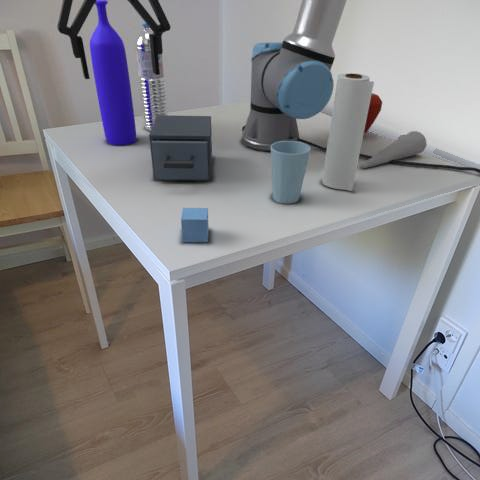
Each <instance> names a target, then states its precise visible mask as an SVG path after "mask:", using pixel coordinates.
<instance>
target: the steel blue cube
mask: <svg viewBox="0 0 480 480" xmlns="http://www.w3.org/2000/svg"><path fill="white" fill-rule="evenodd" d="M180 225H181V237H182V243H209V207H182V209H181V217H180Z"/></svg>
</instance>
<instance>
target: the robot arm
mask: <svg viewBox="0 0 480 480" xmlns="http://www.w3.org/2000/svg"><path fill="white" fill-rule="evenodd" d="M347 1H348V0H301V3H300V6H299V10H298V14H297V19H296V21H295V24H294V28H293V31H292V32H291V33H290V34H288V35H287V36H285V37H284V38H283V40H282V41H278V42H257V43H255V44H254V45H253V47H252V54H251V55H252V56H251V58H250V59H251V60H250V61H251V72H250V73H251V75H250V76H251V77H250V107H249V108H250V109H249V113H248V116H247V119H246V122H245V125H244V126H242V127H241V132H242V144H243V145H245V146H246V147H248V148H250V149H252V150H257V151H261V152H271V145H272V144H273V143H275V142H279V141H297V142H301V143H304V144H307V145H308V146H311V147H313V148H316V149H318V150H322V151H325V152H326V151H327V147H325V146H321V145H319V144H316V143H314V142H311V141H308V140H307V139H302V138H300V131H299V126H298V122H297V120H307V119H310V118H313V117H314V116H316V115H318V114H319V113H320V112H322V111H323V110H324V109H325V108H326V106H327V105H328V104H329V102H330V100H331V98H332V95H333V91H334V87H335V86H334V85H335V84H334V82H335V81H334V78H333V74H332V71H331V70H332V67H333V65H334V62H335V59H336V54H335V51H334V49H333V42H334V39H335V36H336V34H337V30H338V27H339V24H340V21H341V20H342V19H341V18H342V15H343V12H344V10H345V6H346V4H347ZM73 2H74V0H62V4H61V8H60V12H59V17H58V22H57V25H56V26H57V30H58V32H59V33H60V34H62V35H65V36H68V37H69V40H70V44H71V49H72V54H73V56H74V58H75V59H80V64H81V69H82V75H83V77H84V80H90V79H91V78H90V74H89V68H88V63H87V57H86V52H85V46H84V42H83V41H84V40H83V37H82V36H81V35H79V33H80V31H81V30H82V28H83V26H84V24H85V22H86V20H87V18H88V16H89V15H90V13H91V10H92V9H93V8H94V5H95V4H94V3H95V2H96V0H83V2H82V4H81V6H80V7H79V10H78V12H77V14H76V16H75V17H74V19H73V21H72V22H71V24H70V26H68V23H69V19H70V15H71V10H72V5H73ZM127 2H128V3H129V4H130V5H131V6H132V8H133V9H134V10H135V11H136V13H137V15H139V16H140V18H141V19H142V20H143V22H144V23H146V24H147V25H148V26H149V27H150V30H151V31H152V32H153V34H149V38H150V49H151V59H152V69H153V73H154V74H156V75H160V71H159V60H158V54H162V55H163V52H164V49H163V39H162V37H163V34H164V33H165V32H168V31H170V30H171V24H170V22H169V20H168V17H167V16H166V13H165V11H164V10H163V7H162V5H161V3H160V1H159V0H148V2H149V4H150V7H151V9H152V10H153V13H154V15H155V17H156V19H157V22H158V23H159V24H158V23H157V22H156V21H155V19H154V18H153V17H152V16H151V15H150V13H149V12H148V11H147V9H146V8H145V7H144V5H143V4H142V3H141V2H140V1H139V0H127ZM373 156H374V155H368V154H364V153H360V154H359V158H364V159H367V160H368V159H370V158H371V157H373ZM388 163H389V164H397V165H405V166H406V165H407V166H413V167H414V166H415V167H424V168H438V169H449V170H456V171H473V172H476V173H478V174H480V168H477V167H474V166H473V167H470V166H458V165H457V166H456V165H450V164H438V163H437V164H436V163H434V164H433V163H426V162H415V161H405V160H399V159H398V160H391V161H390V162H388Z"/></svg>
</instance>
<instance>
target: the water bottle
mask: <svg viewBox="0 0 480 480" xmlns="http://www.w3.org/2000/svg"><path fill="white" fill-rule="evenodd" d="M141 25H142V29H143V30H142V31H140V32H139V33H138V35H137V37H136V38H135V40H134V50H135V56H136V64H137V73H138V86H139V94H140V103H141V110H142V111H141V112H142V120H143V127H144V129H145V130H146V131H149V132H151V129H152V127H153V124H154V122H155V119H156V117H157V115H168V110H167V109H168V107H167V95H166V94H167V93H166V85H165V84H166V82H165V74H164V66H163V65H164V63H163V53H162V54H158V60H159V71H160V75H156V74H154V73H153V69H152V59H151V49H150V38H149V34H153V31H152V30H151V29H150V27H149V26H148V25H147V24H146V22H141Z"/></svg>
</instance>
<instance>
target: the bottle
mask: <svg viewBox="0 0 480 480" xmlns="http://www.w3.org/2000/svg"><path fill="white" fill-rule="evenodd" d="M108 4H109V2H108V0H96V2H95V3H94V5H95V6H96V10H97V19H98V22H97V26H96V28H95V29H94V31H93V32H92V35H91V37H90V41H89V51H90V59H91V66H92V71H93V77H94V84H95V89H96V90H95V91H96V95H97V100H98V105H99V112H100V117H101V122H102V128H103V133H104V137H105V140H106V142H107V143H108V144H109V145H112V146H128V145H131V144H133V143H135V142H136V141H137V127H136V119H135V110H134V104H133V95H132V89H131V88H132V87H131V79H130V73H129V65H128V61H127V60H128V59H127V53H126V48H125V43H124V41H123V39H122V37H121V36H120V35H119V33H118V32H117V30H116V29H115V28H114V27H113V26H112V25H111V24H110V22H109V21H110V20H109V18H108V13H107V5H108Z"/></svg>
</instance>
